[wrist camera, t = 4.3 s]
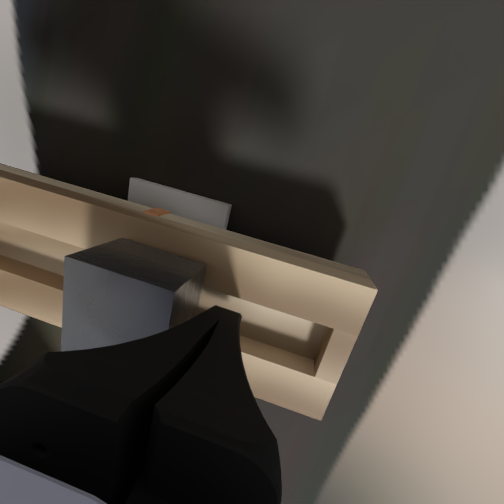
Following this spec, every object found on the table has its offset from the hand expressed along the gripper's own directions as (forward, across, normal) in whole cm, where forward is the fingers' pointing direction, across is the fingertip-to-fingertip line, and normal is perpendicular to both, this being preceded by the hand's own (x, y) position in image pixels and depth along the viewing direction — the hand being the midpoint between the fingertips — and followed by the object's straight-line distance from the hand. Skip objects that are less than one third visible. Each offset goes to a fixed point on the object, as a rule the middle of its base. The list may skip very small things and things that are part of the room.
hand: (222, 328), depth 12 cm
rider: (+1, +3, 0) cm, 4 cm away
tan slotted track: (+5, +5, 0) cm, 7 cm away
